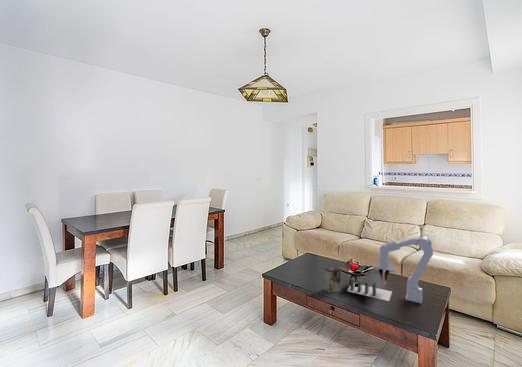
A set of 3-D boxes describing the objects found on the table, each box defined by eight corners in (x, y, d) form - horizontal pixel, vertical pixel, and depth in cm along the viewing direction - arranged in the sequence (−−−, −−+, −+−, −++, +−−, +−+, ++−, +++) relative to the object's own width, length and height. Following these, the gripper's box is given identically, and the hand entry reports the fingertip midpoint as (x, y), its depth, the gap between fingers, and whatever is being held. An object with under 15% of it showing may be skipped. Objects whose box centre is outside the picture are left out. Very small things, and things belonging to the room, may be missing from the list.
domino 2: (361, 289, 199) (361, 279, 198) (360, 292, 195) (360, 281, 194) (359, 289, 200) (359, 278, 199) (357, 292, 196) (357, 281, 195)
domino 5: (385, 282, 196) (385, 271, 196) (384, 285, 192) (384, 274, 192) (383, 282, 197) (383, 271, 197) (382, 284, 193) (382, 273, 192)
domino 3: (368, 291, 196) (369, 280, 196) (367, 294, 192) (367, 283, 191) (366, 290, 197) (366, 280, 197) (365, 293, 193) (365, 282, 192)
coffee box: (335, 288, 203) (335, 267, 202) (340, 291, 197) (340, 270, 196) (324, 289, 201) (324, 268, 200) (329, 293, 195) (329, 271, 194)
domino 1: (354, 288, 202) (354, 277, 201) (352, 290, 197) (352, 280, 197) (352, 287, 202) (352, 277, 202) (350, 290, 198) (350, 279, 198)
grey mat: (392, 292, 196) (392, 291, 196) (388, 301, 182) (388, 301, 182) (352, 283, 211) (352, 282, 211) (346, 291, 197) (346, 290, 197)
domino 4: (376, 293, 193) (376, 282, 193) (374, 296, 189) (375, 284, 189) (373, 292, 194) (374, 281, 194) (372, 295, 190) (372, 284, 190)
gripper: (396, 261, 193) (396, 280, 194) (374, 258, 201) (374, 276, 202) (395, 264, 187) (394, 283, 188) (372, 260, 195) (372, 279, 196)
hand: (384, 280), depth 194 cm, fingers closed on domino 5, 1 cm apart
